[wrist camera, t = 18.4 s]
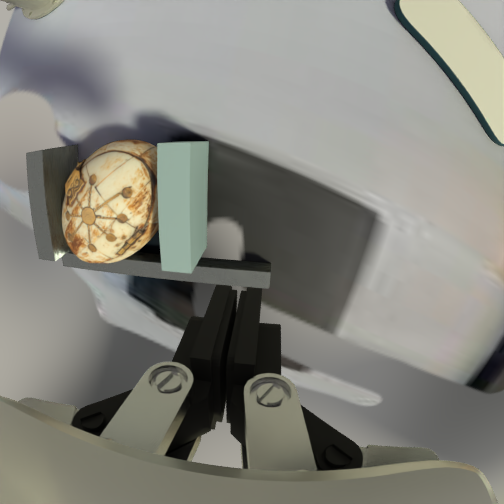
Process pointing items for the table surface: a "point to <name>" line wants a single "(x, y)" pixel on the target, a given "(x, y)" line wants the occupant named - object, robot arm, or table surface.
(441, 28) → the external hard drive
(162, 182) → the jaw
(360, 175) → the table surface
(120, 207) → the trinket box
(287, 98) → the table surface
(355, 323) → the table surface
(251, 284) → the vise
